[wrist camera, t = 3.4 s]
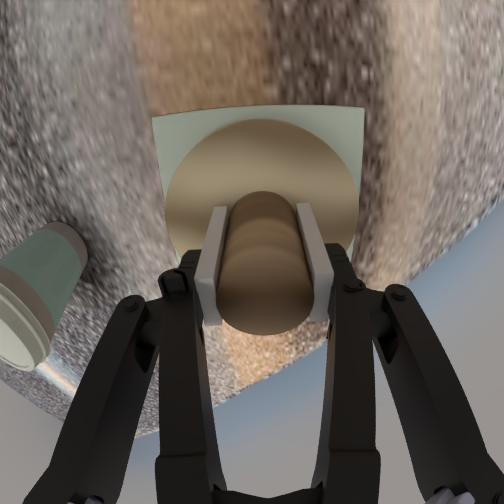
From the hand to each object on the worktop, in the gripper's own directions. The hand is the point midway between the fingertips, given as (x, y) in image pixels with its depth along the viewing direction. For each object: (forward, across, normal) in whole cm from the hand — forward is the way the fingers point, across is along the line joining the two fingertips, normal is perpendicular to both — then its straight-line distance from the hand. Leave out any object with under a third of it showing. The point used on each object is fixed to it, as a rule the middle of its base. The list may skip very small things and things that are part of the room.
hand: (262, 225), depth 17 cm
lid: (+2, 0, 0) cm, 2 cm away
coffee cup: (+5, -19, -3) cm, 20 cm away
